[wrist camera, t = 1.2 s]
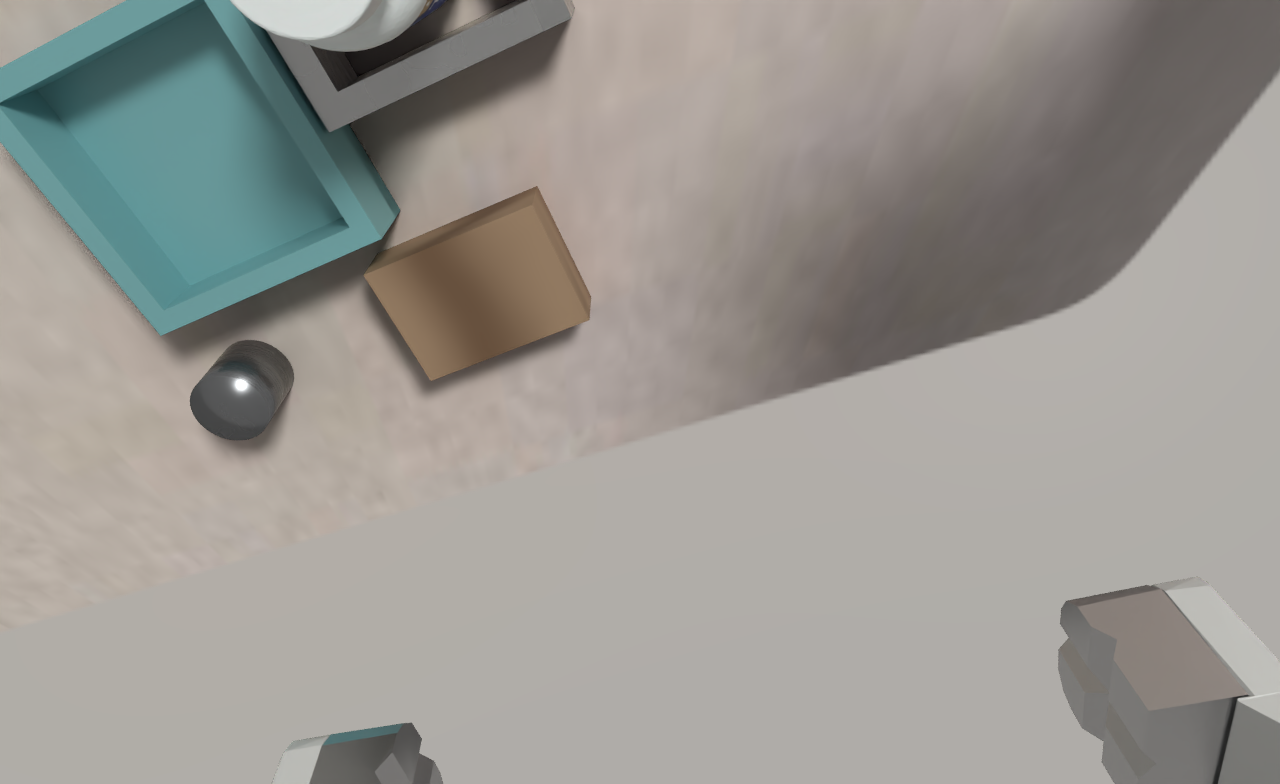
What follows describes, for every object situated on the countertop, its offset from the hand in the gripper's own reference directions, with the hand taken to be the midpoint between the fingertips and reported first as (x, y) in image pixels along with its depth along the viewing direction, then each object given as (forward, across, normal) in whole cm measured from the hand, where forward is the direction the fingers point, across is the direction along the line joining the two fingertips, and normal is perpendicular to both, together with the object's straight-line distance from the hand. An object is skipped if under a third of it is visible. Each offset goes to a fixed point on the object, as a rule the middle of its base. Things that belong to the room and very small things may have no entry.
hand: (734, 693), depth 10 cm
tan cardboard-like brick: (+25, +7, +3) cm, 26 cm away
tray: (+24, +15, -4) cm, 29 cm away
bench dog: (+25, +18, +5) cm, 31 cm away
